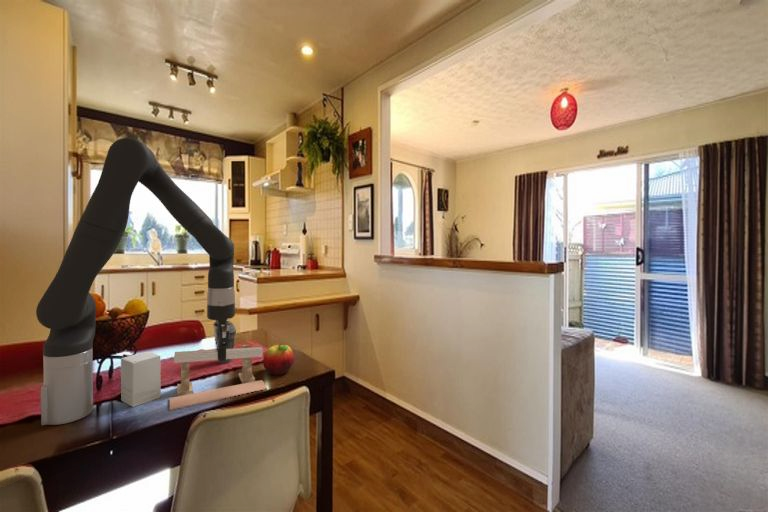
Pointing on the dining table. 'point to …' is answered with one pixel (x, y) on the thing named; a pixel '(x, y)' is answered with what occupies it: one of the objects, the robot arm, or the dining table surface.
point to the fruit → (278, 359)
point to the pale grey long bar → (213, 354)
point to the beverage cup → (230, 340)
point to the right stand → (246, 369)
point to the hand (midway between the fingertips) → (221, 358)
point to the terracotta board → (215, 394)
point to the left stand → (184, 381)
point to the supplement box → (140, 378)
